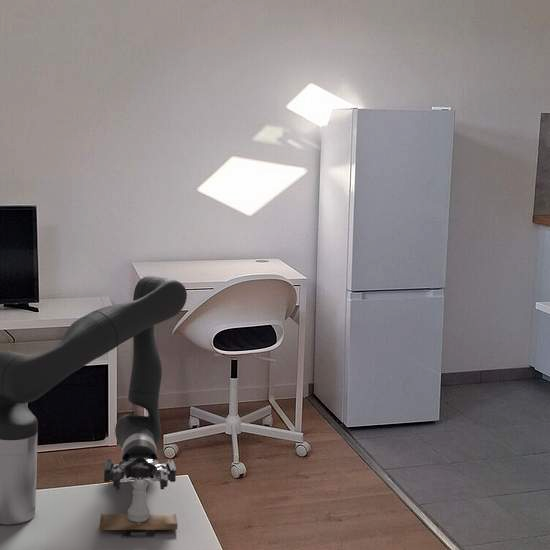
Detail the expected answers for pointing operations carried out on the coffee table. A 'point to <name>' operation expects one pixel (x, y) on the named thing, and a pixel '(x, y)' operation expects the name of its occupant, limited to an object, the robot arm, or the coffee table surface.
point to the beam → (125, 524)
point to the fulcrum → (138, 533)
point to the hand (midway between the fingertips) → (140, 484)
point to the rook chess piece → (139, 502)
